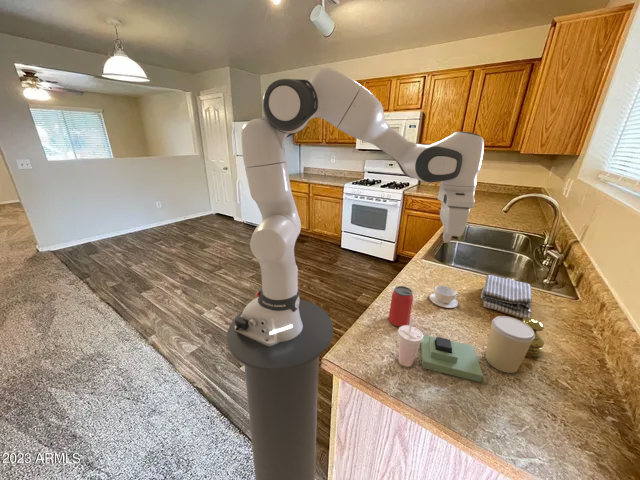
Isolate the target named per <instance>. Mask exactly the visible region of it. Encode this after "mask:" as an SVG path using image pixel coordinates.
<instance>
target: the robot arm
mask: <svg viewBox="0 0 640 480" xmlns="http://www.w3.org/2000/svg"><path fill="white" fill-rule="evenodd" d="M262 110H263V113H264V114H263V115H262V116H261V117H259V118H254V119H251V120H249V121H247V122H246V123H245V124H244V125H243V126H242V128H241V133H240V134H241V135H240V136H241V139H240V140H241V152H242V153H241V154H242V159H243V166H244V170H245V175H246V178H247V184H248V189H249V194H250V196H251V198H252V200H253V201H254V202H255V204H256V205H257V208H258V210H259V212H260V215H261V219H262V220H261V222H260V223H259V224H258V225H257V226H256V227H255V229H254V231H253V232H252V235H251V238H250V241H249V248H250V251H251V253H252V255H253V256H254V257H255V258H256V260H257V261H258V264H259V268H260V273H261V275H260V276H261V287H260V288H259V289H258V290H257V292H256V293H255V294H254V296H255V298H253V299H252V300H251V301H250V302H248V303H247V305H246V306H245V307H244V308H243V310H242V311H243V313H242V315H241V316H240V317H238V318H237V319H236V320H235V331H237V332H239V333H241V334H243V335H245V336H247V337H249V338H251V339H253V340H256V341H258V342H260V343H262V344H264V345H266V346H273V345H275V344H277V343H279V342H284V341H288V340H291V339H293V338H295V337H296V336H298V335H299V334H300V332H301V331H302V328H303V324H302V321H301V318H300V313H299V300H300V299H301V298H300V288H299V284H298V283H299V279H298V277H299V268H298V265H297V263H296V257H295V245H296V242H297V239H298V237H299V235H300V233H301V230H302V220H301V218H300V216H299V212H298V209H297V206H296V201H295V199H294V196H293V193H292V187H291V182H290V181H291V180H290V176H289V169H288V163H287V158H286V157H287V156H286V151H285V141H286V139H287V138H289V137H291V136H293V135H295V134H298V133H300V132H301V131H302V130H304V129H305V128H306V127H307V126H308V124H309V123H310V120H311V119H315V118H318V119H322V120H324V121H326V122H327V123H329V124H331V125H332V126H334V127H335V128H337V129H338V130H339V131H340V132H343V133H345V134H346V135H348V136H350V137H353V138H354V139H357V140H360V141H362V142H366V143H368V144H371V145H373V146H374V147H376V148H378V149H379V150H381V151H382V152H383V153H385V154H386V155H388V156H389V157H391V158H392V159H393V160H395V162H396V164H397V165H398V167H399V168H400V171H401V172H402V173H403V174H404V176H406V177H408V178H410V179H415V180H418V181H420V182H423V183H427V184H432V183H433V184H434V183H439V182H440V184H439V189H438V194H437V201H440V202H441V204H440V205H441V206H440V210H439V218H440V222H441V223H442V226H443V228H442V229H443V231H442V233H443V234H442V241H443V243H449V244H450V243H451V241H452V240H451V239H452V237H462V235H463V234H464V232H465V230H466V226H467V224H468V220H469V216H470V212H471V209H473V208H475V207H474V206H475V201H476V200H475V192H476V187H477V178H478V177H477V176H478V174H479V172H480V170H481V166H482V161H483V156H484V149H485V141H484V138H483V137H482V136H481V135H480V134H478V133H475V132H470V131H464V130H463V131H461V130H460V131H454V132H453V133H452V134H450V135H449V136H447V137H445V138H443V139H441V140H439V141H436V142H433V143H431V144H423V143H417V142H412V141H410V140H409V139H407V138H405V137H404V136H403V135H401V134H400V133H399V132H398V131H397V130H395V129H394V128H393V127H391V126H390V125H389V123H388V122H387V121H386V118H385V114H384V107H383V104H382V103H381V101H380V100H379V99H378V98H377V97H376V96H375V94H373V93H372V92H371V91H370V90H368V89H367V88H366V87H365V86H363V85H362V84H361V83H359V82H357V81H356V80H354V79H353V78H351V77H350V76H347V75H346V74H344V73H342V72H340V71H338V70H336V69H333V68H330V67H322V68H320V69H319V70H317V71H316V72H315V73H314V74H313V75H312V76H311V78H310V80H309V79H298V78H297V79H295V78H280V79H277V80H275V81H273V82H271V83H270V84H269V85H268V86H267V88H266V90H265V91H264V94H263V97H262Z"/></svg>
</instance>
